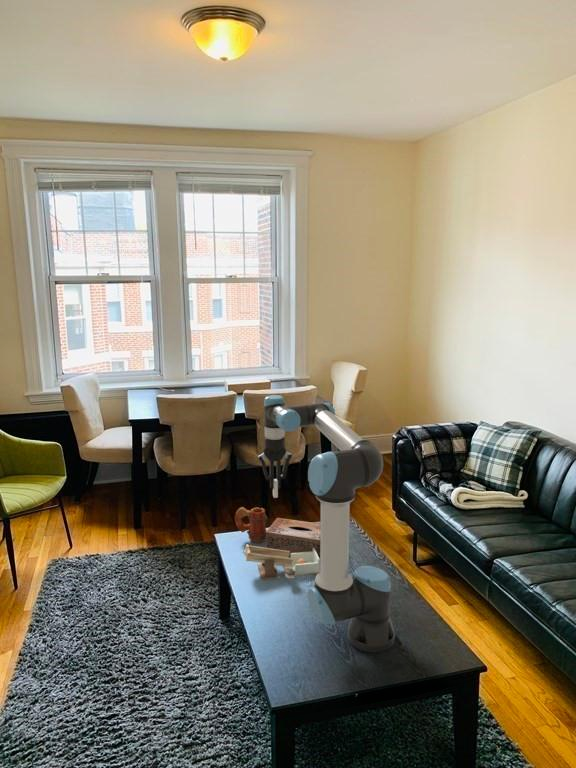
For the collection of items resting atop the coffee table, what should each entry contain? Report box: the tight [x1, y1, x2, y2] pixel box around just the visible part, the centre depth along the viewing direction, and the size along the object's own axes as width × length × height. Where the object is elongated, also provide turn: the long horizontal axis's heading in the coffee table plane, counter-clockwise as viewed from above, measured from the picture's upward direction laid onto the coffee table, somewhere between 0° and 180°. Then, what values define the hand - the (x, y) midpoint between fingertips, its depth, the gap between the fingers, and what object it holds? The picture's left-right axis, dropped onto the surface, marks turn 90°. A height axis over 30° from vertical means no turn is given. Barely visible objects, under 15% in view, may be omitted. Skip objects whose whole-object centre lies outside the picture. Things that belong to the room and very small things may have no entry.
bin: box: [290, 548, 320, 577], centre depth 223 cm, size 10×11×6 cm
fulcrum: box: [257, 560, 280, 581], centre depth 220 cm, size 10×7×7 cm
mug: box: [234, 506, 269, 544], centre depth 246 cm, size 15×8×15 cm, turn 84°
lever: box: [244, 543, 295, 579], centre depth 216 cm, size 16×18×3 cm
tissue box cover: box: [265, 517, 321, 559], centre depth 238 cm, size 26×14×10 cm, turn 72°
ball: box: [297, 559, 306, 564], centre depth 223 cm, size 4×4×4 cm
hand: (275, 496), depth 213 cm, fingers closed
